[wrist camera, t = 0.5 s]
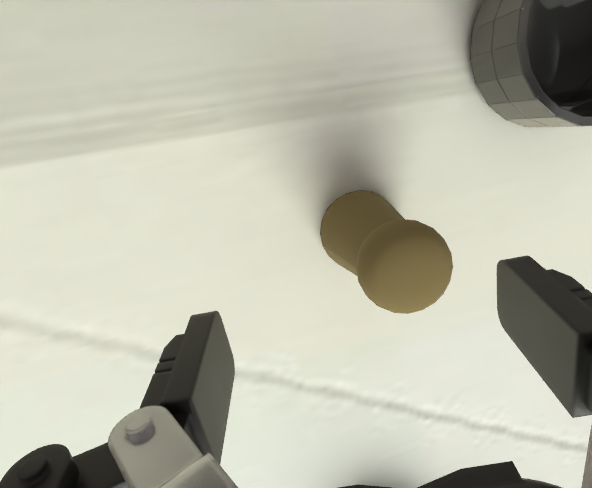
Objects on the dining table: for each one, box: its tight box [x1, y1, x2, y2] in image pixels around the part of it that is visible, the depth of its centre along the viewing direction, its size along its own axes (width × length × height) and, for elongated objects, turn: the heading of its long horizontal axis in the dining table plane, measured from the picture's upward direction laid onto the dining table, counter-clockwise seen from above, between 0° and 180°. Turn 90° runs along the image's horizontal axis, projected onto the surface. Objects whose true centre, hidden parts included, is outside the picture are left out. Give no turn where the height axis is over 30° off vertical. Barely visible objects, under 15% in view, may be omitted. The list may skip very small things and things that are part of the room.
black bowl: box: [470, 0, 592, 127], centre depth 29 cm, size 11×11×6 cm
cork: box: [320, 191, 453, 313], centre depth 28 cm, size 6×6×11 cm
